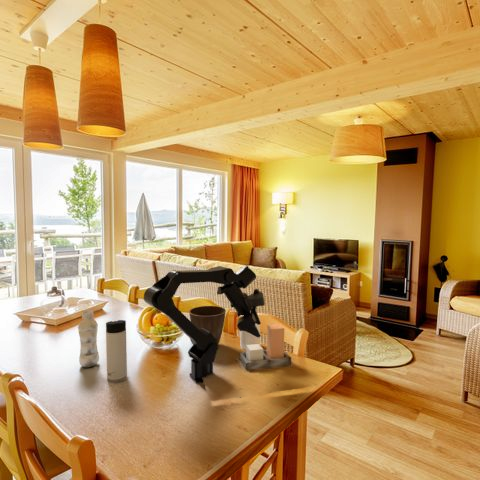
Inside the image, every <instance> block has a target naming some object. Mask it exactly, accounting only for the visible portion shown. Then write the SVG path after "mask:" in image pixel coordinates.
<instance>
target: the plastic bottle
mask: <svg viewBox="0 0 480 480" xmlns="http://www.w3.org/2000/svg"><path fill="white" fill-rule="evenodd" d="M81 314H82V315H81V318H82V319H81V321H80V322H79V324H78V326H77V329H78V335H79V342H80V343H79V344H80V351H79V353H80V354H79V358H78V359H79V360H78V361H79V365H80V366H81V367H82V368H91V367H94V366H96V365H97V364H98V363H99V360H100V355H99V350H98V343H97V341H98V340H97V339H98V327H99V325H98V322H97V320H95V318H94V317H95V316H94V310H90V309H89V310H84V311H82V313H81Z"/></svg>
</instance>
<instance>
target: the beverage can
mask: <svg viewBox="0 0 480 480" xmlns="http://www.w3.org/2000/svg"><path fill="white" fill-rule="evenodd" d="M255 325H256V327H257V329H258V331H259V333H260V334H261V324H260V325H258V324H255ZM239 332H240V333H239V334H240V336H239V340H240V342H239V344H240V345H239V347H240V348H241V349H242V350H244V351H246V345H252V344H259V345H260V346H261V336H260V337H259V338H258V337H256V336H254V335H252V334H250V333H248V332H246V331H240V330H239Z"/></svg>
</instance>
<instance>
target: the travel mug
mask: <svg viewBox="0 0 480 480" xmlns="http://www.w3.org/2000/svg"><path fill="white" fill-rule="evenodd" d="M126 323H127V321H126V320H124V319H118V320H114V321H107V322H105V328H106V329H105V341H106V342H105V345H106V347H105V348H106V380H107V382H109V383H111V384H112V383H113V384H115V383H121V382H124V381H126V379H127V378H128V361H127V356H128V355H127V324H126Z"/></svg>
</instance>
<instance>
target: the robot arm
mask: <svg viewBox="0 0 480 480" xmlns="http://www.w3.org/2000/svg"><path fill="white" fill-rule="evenodd" d="M256 279H257V275H256V273H255V272H254V271H253V270H252V269H251V268H250V267H249V266H248V265H242V266H241V268H239V270H237V272H235V271H234V270H233V268H231V267H225V266H220V265H219V266H218V265H217V266H214V267H213V266H212V267H211V268H209V269H197V270H196V269H195V270H194V269H193V270H192V269H191V270H187V269H186V270H176V269H172V270H169V271H168V273H167V274H165V276H163V277H161V278H160V279H159V280H157V281H156V282H155V283H154V284H152V285H151V286H150V287H148V288H147V289H145V291H144V292H143V301H144V302H145V304H147V305H149V306H150V307H152V308H154V309H156V310H157V311H159V312H160V313H162V314H164V315H165V316H166V317H167V318H168V319H169V320H170V321H171V322H172V323H173V324H174V325H175V326H176V327H178V329H180V331H182V333H184V334H185V335H186V336H187V337H188V339H189V340H190V342H191V344H192V346H191V347H190V348H189V350H188V352H187V354H188V357H189V358H191V360H190V363H191V364H190V368H191V369H190V373H189V377H190V378H191V379H192V381H194V382H195V384H199V383H202V382H204V378H208V377H209V376H210V375H212V374H213V373H214V362H215V359H216V355H217V352H218V349H219V346H220V345H219V344H218V343H217V339H216V338H214V337H213V335H212V334H211V333H210V332H208V331H206V330H204V329H202V328H201V329H200V330H199V329H198V328H197V327H196V326H195V325H194V324H193V323H192V322H191V320H190V318H188V317H187V316H186V315H185V314H184V313H183V312H182V311H181V310H180V309H179V308H177V306H176V304H175V302H174V300H173V297H174V296H175V295H176V292H177V290H178V289H179V287H180V286H181V284H192V283H193V284H195V283H197V284H198V283H215V284H220V286H217V291H216V294H217V295H225V297H226V299H227V300H228V302H230V308H231V309H232V308H234V310H235V311H236V316H237V317H239V318H238V319H237V325H236V327H237V329H238V330H239V332H240V331H246V332H248V333H250V334H252V335H254V336H256V337H258V338H259V337H260V338H261V332H260V333H259V331H258V329H257V327H256V325H255V324H258V325H260V326H261V320H260V318H259V315H258V313H257V307H264V306H265V304H266V301H265V296H264V293H263V292H262V291H260V290H259V288H255V289H253V292H252V293H250V294H249V295H248V294H247V292H243V290H242V289H246V288H248V287H249V286H250V285H251V284H252V283H253V282H254V281H255V280H256ZM221 285H222V286H221Z"/></svg>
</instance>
